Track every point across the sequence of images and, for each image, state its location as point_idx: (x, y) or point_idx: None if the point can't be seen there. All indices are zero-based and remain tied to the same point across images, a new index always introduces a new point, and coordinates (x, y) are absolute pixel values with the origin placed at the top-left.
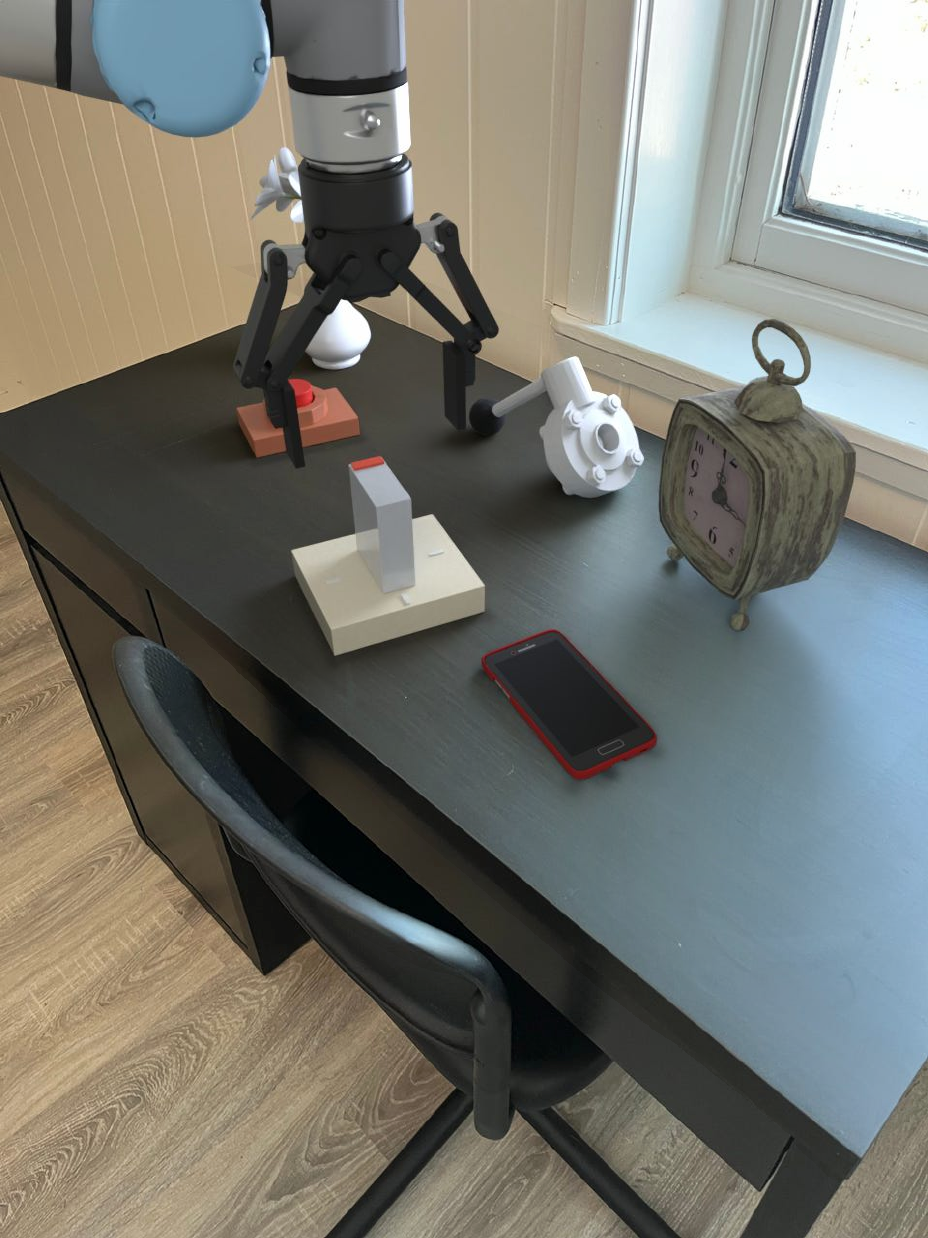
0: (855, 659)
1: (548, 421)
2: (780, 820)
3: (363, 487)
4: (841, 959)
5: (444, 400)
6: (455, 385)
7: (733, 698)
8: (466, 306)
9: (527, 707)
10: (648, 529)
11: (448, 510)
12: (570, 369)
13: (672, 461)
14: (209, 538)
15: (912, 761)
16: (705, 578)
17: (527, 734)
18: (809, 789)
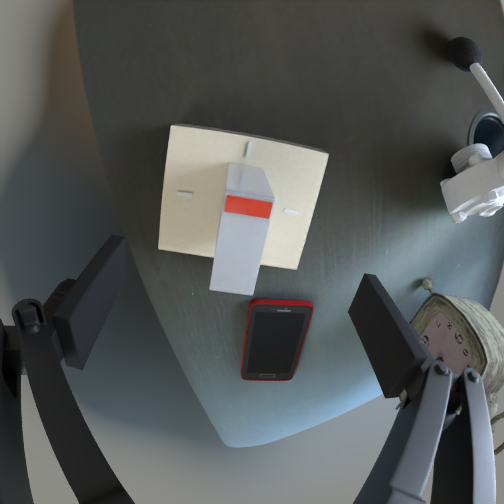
0: None
1: (482, 167)
2: (298, 407)
3: (215, 249)
4: (267, 432)
5: (373, 288)
6: (370, 355)
7: (344, 367)
8: (453, 427)
9: (249, 344)
10: (442, 246)
11: (359, 120)
12: None
13: (459, 329)
14: (135, 30)
15: (360, 404)
16: None
17: (241, 346)
18: (320, 403)
